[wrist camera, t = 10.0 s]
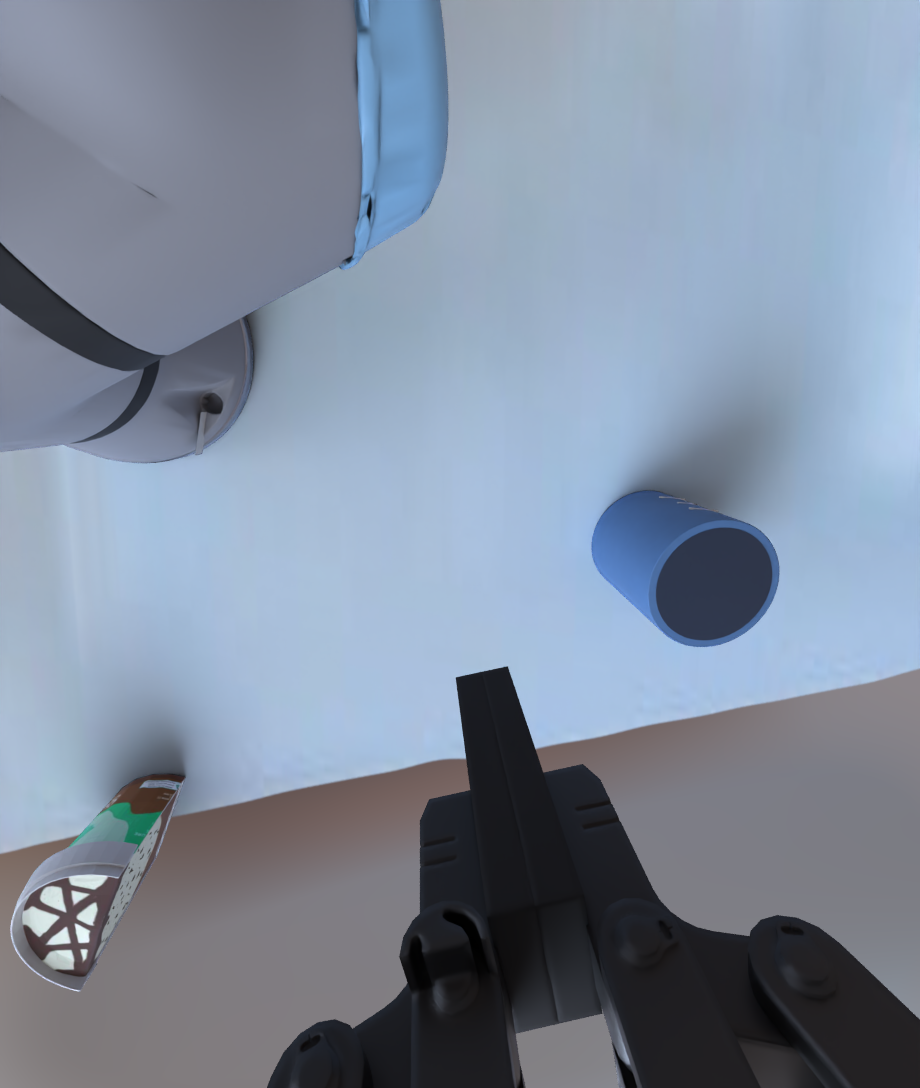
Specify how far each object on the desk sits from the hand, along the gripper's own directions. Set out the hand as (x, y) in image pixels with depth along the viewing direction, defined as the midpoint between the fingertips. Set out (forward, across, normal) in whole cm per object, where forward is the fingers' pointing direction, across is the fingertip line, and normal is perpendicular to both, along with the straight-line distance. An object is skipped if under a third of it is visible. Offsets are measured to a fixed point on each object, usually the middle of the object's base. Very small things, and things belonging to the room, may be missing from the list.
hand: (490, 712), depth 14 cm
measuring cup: (+19, +19, -6) cm, 28 cm away
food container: (+25, -32, -20) cm, 45 cm away
